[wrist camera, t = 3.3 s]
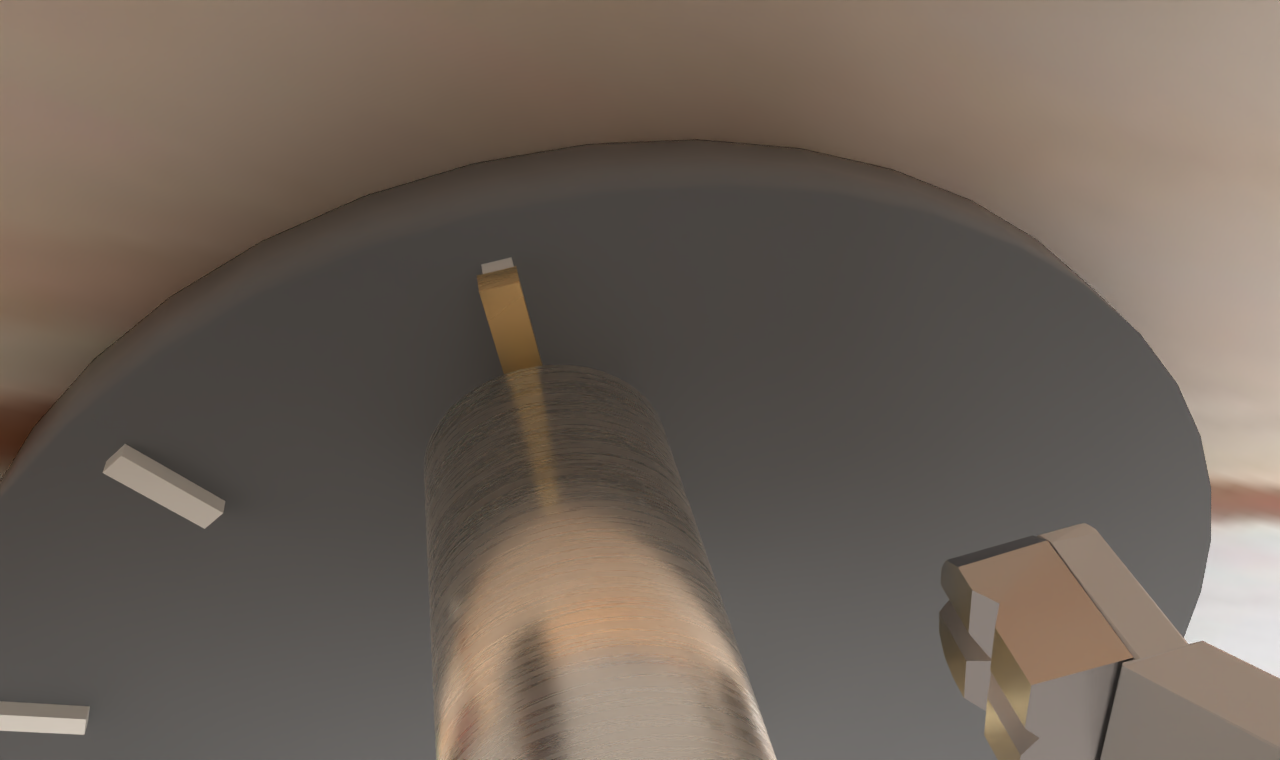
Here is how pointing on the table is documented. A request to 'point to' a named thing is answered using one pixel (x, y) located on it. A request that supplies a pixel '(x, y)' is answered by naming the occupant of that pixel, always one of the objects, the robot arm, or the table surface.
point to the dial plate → (623, 347)
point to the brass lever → (571, 573)
